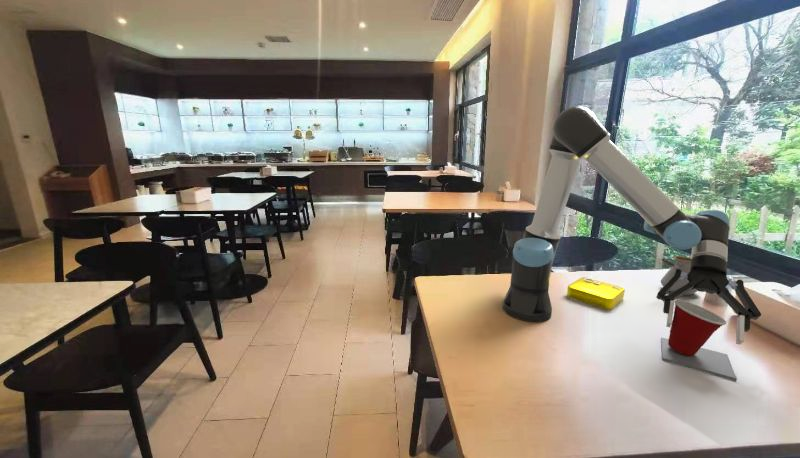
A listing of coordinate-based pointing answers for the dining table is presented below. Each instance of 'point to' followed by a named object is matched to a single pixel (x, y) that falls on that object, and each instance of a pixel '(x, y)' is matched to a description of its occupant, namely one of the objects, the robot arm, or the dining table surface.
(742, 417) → the dining table surface
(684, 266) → the coffee pot
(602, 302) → the element tile
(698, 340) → the plastic cup
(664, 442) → the dining table surface
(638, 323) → the dining table surface
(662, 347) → the card
